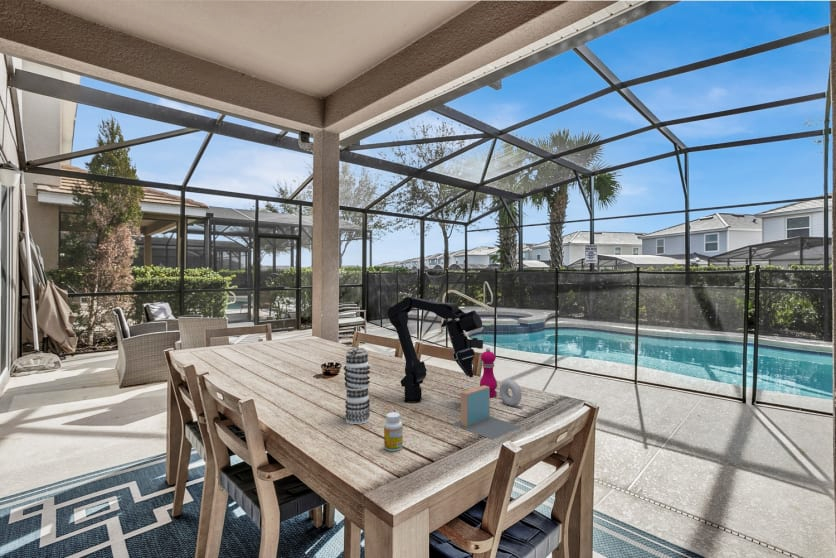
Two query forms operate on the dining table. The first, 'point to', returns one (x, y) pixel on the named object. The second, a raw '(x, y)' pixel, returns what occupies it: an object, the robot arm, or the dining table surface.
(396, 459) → the dining table surface
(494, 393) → the pepper mill
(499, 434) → the rubber mat
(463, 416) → the terracotta tile
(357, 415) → the decorative candle
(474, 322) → the robot arm
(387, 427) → the supplement bottle
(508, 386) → the donut
